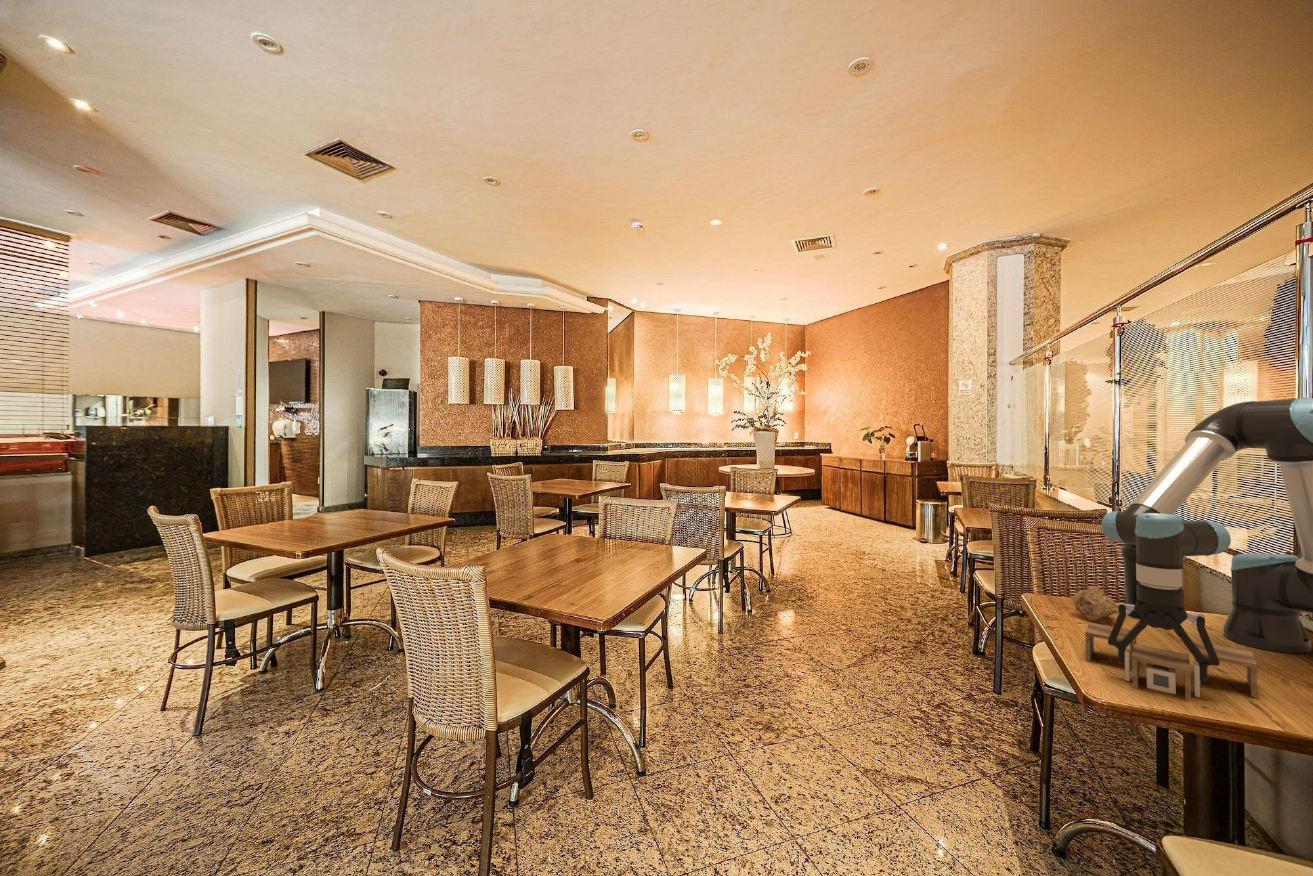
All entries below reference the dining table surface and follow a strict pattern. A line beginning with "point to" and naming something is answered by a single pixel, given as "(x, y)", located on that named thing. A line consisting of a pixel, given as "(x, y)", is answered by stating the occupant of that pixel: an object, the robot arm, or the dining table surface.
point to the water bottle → (1130, 576)
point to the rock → (1094, 603)
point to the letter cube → (1161, 678)
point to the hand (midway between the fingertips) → (1161, 686)
